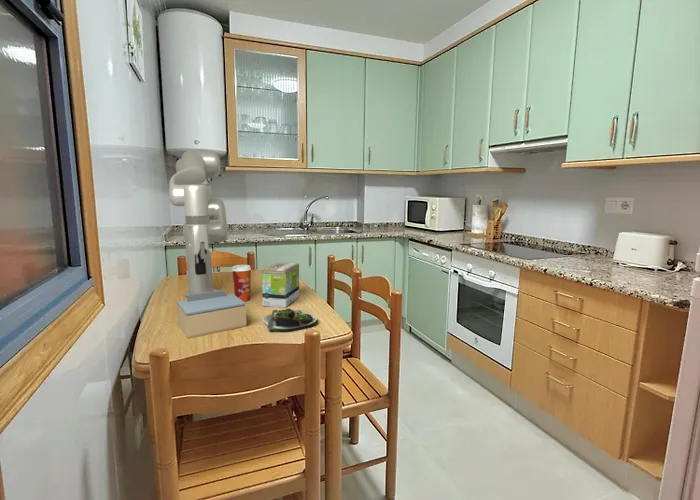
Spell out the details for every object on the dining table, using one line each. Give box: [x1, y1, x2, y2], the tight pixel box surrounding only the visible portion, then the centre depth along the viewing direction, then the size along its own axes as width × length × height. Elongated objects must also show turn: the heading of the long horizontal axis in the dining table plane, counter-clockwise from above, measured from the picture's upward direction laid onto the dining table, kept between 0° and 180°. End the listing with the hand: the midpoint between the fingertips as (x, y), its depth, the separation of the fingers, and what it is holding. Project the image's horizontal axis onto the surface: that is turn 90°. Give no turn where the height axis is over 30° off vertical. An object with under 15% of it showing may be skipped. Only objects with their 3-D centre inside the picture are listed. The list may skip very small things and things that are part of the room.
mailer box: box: [176, 303, 248, 339], centre depth 122 cm, size 14×18×7 cm
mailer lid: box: [176, 289, 247, 315], centre depth 121 cm, size 14×18×3 cm
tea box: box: [261, 262, 300, 309], centre depth 148 cm, size 15×10×15 cm
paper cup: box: [231, 264, 252, 303], centre depth 150 cm, size 8×8×14 cm
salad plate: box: [262, 307, 318, 333], centre depth 126 cm, size 19×18×5 cm
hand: (200, 274), depth 129 cm, fingers closed
